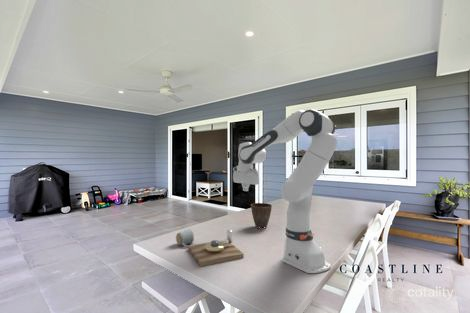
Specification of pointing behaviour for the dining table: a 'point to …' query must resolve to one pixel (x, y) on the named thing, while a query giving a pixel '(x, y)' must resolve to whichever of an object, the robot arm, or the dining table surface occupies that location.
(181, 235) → the ceramic mug
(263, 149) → the robot arm
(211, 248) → the brass and silver crank
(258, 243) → the dining table surface
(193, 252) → the brown flat wooden board
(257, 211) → the plant pot
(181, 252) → the dining table surface
